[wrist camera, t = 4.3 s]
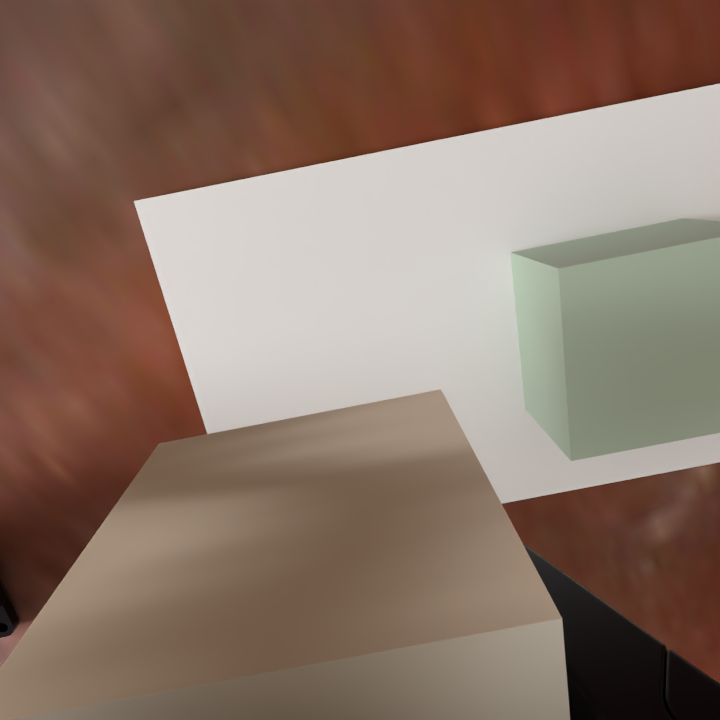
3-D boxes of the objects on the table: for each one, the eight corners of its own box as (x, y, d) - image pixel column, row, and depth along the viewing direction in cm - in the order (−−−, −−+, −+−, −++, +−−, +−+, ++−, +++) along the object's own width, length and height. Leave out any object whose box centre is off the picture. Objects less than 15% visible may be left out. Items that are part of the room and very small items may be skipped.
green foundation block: (525, 408, 20) (571, 461, 16) (510, 252, 18) (558, 268, 14) (680, 379, 19) (764, 424, 16) (682, 218, 18) (778, 225, 14)
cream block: (234, 657, 10) (149, 1042, 6) (158, 443, 9) (-44, 730, 4) (474, 613, 10) (590, 966, 6) (440, 388, 9) (562, 617, 4)
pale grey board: (248, 536, 22) (244, 552, 21) (144, 200, 18) (133, 201, 17) (711, 448, 22) (728, 460, 21) (724, 84, 17) (746, 78, 16)
